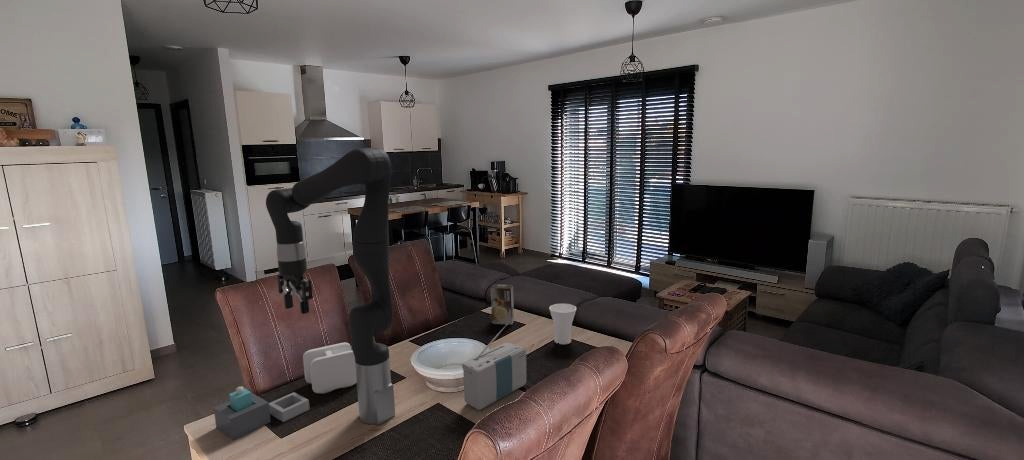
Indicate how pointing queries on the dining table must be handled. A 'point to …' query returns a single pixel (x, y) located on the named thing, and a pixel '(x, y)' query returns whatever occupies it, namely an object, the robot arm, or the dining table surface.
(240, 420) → the port
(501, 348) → the stereo radio cassette player
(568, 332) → the cup
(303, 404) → the grey square hollow frame
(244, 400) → the plug
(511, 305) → the coffee box
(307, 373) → the cable organizer
